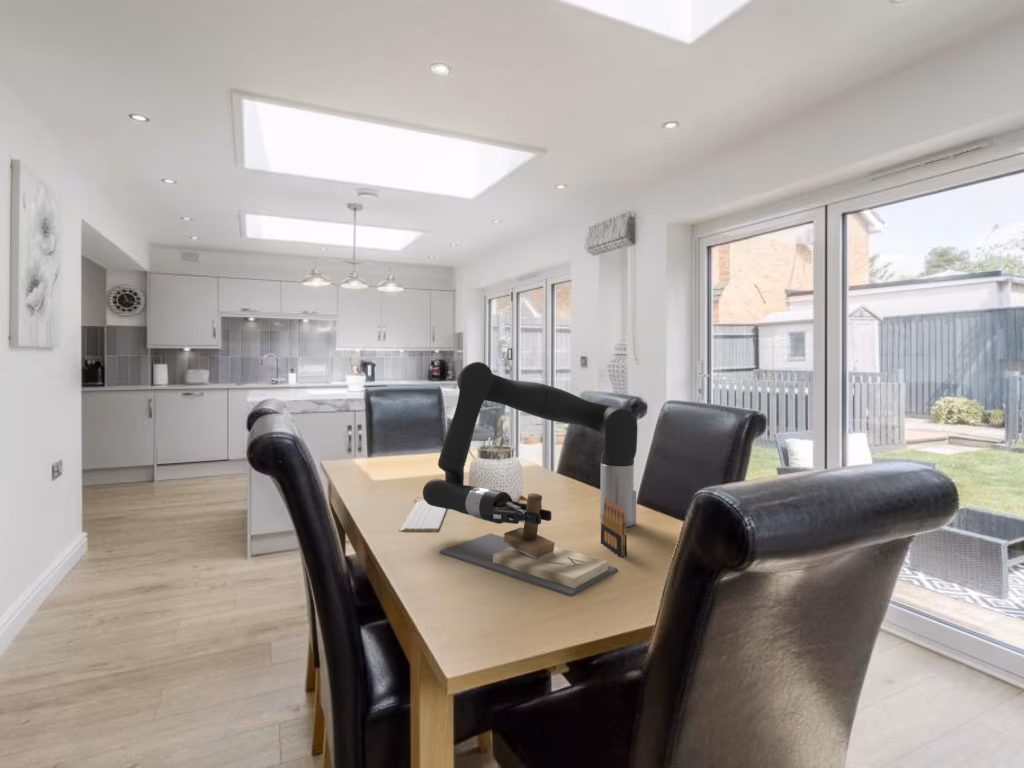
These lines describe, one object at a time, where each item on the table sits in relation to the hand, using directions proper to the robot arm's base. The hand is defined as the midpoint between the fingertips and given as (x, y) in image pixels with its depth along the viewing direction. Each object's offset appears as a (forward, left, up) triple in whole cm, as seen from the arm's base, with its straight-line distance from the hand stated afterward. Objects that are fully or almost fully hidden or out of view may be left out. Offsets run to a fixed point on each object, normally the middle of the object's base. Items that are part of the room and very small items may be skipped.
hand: (545, 517), depth 125 cm
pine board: (-1, +1, -11) cm, 11 cm away
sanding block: (+2, -4, -8) cm, 9 cm away
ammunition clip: (-21, -6, -11) cm, 24 cm away
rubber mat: (+3, -5, -11) cm, 13 cm away
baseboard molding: (+18, -50, -12) cm, 55 cm away
